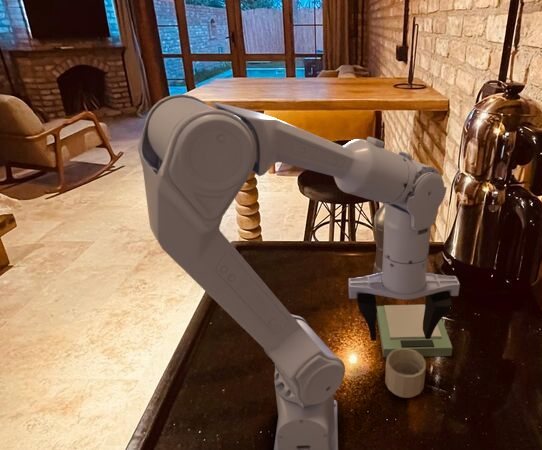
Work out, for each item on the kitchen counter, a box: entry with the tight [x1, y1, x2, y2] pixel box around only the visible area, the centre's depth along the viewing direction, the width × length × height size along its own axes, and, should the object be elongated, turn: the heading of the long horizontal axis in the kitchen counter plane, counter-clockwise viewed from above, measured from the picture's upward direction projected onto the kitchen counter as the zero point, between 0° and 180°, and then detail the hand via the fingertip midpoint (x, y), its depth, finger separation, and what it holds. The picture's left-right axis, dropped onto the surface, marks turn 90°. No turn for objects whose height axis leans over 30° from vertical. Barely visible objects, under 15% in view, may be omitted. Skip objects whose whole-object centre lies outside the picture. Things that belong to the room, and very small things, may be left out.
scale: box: [376, 304, 453, 358], centre depth 70 cm, size 11×11×2 cm
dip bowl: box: [384, 348, 427, 399], centre depth 59 cm, size 6×6×4 cm
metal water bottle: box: [372, 203, 385, 275], centre depth 79 cm, size 6×7×20 cm
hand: (399, 335), depth 58 cm, fingers open, 7 cm apart
